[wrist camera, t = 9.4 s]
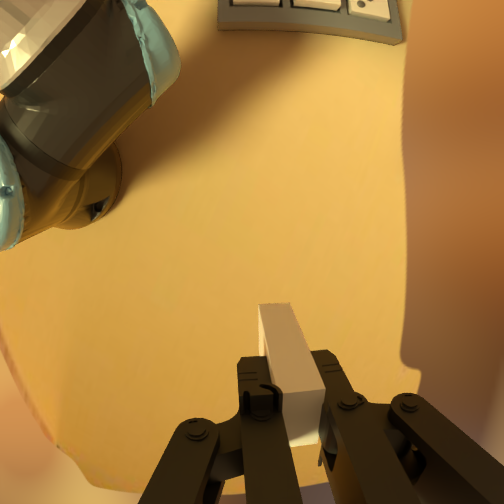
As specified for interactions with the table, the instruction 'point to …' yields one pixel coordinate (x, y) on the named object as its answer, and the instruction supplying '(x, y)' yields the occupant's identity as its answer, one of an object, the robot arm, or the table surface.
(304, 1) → the key two
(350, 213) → the table surface
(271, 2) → the key one
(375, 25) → the keypad
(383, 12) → the key three
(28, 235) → the robot arm
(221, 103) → the table surface
